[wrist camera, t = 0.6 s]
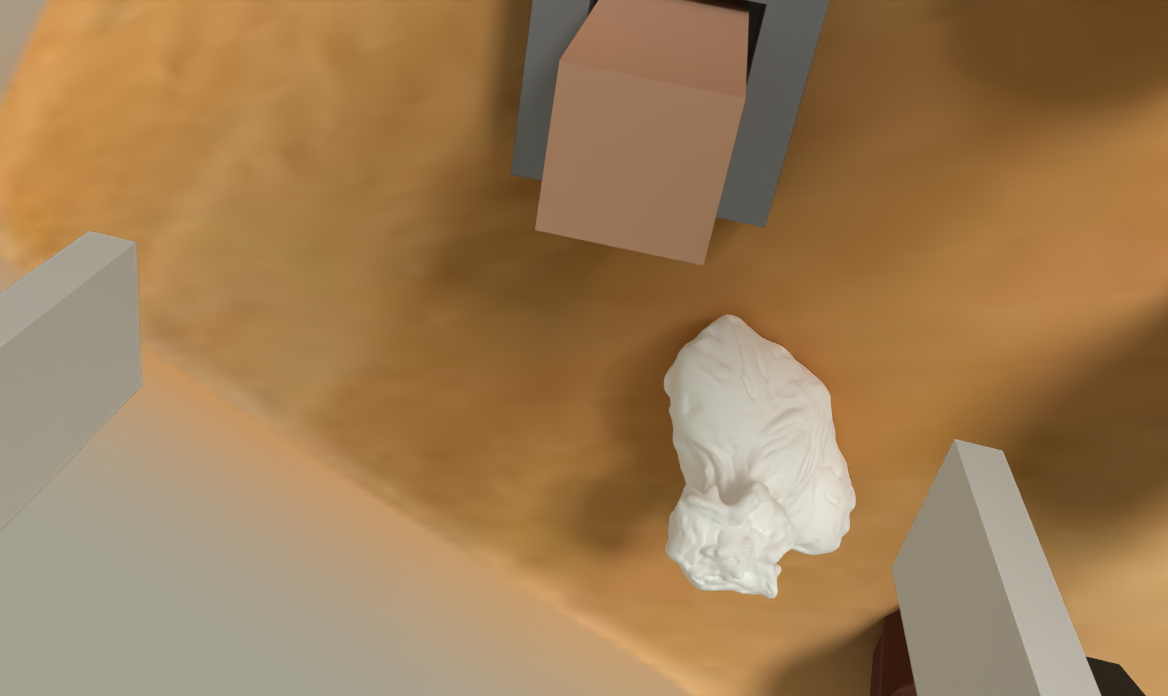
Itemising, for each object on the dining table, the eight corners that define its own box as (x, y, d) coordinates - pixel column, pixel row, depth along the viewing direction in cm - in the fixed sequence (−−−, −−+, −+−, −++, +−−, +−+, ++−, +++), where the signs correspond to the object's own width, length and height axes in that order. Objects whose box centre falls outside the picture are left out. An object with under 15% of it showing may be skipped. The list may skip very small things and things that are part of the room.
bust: (681, 285, 45) (527, 464, 41) (800, 266, 39) (634, 476, 34) (815, 465, 50) (689, 647, 45) (943, 475, 43) (811, 688, 38)
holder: (836, -61, 35) (842, -46, 33) (764, 197, 40) (765, 227, 38) (561, -115, 36) (545, -104, 33) (526, 147, 41) (510, 174, 38)
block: (749, 0, 36) (745, 98, 26) (718, 131, 39) (703, 265, 29) (615, -26, 36) (559, 60, 26) (593, 105, 39) (534, 230, 29)
